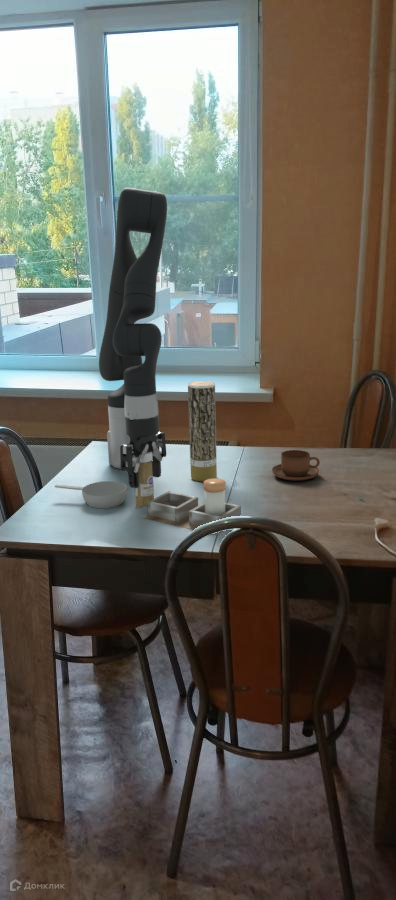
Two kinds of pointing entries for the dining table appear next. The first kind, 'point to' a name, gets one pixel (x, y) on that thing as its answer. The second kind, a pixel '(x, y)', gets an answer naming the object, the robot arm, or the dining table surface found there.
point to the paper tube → (202, 430)
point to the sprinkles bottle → (145, 481)
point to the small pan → (101, 493)
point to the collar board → (184, 511)
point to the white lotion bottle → (214, 496)
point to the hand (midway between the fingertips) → (145, 482)
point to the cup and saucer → (296, 466)
